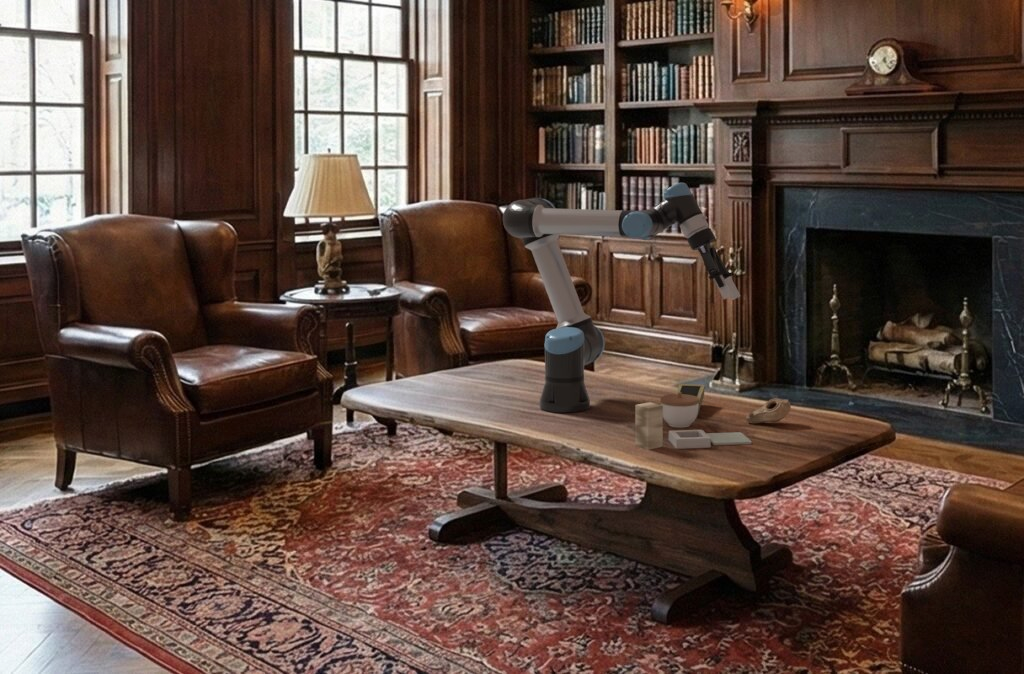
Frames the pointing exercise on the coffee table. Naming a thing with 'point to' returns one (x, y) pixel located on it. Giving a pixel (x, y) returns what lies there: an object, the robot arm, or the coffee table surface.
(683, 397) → the lidded jar
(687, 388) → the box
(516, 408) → the coffee table surface
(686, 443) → the stone well
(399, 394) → the coffee table surface
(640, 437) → the maple block
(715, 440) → the felt pad
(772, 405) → the pottery oil lamp
